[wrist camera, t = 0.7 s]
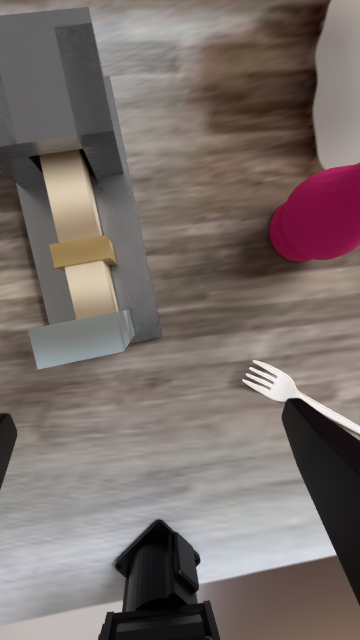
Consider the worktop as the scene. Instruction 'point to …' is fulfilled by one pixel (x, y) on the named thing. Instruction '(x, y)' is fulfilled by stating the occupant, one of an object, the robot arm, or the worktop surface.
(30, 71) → the grey long blocky piece
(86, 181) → the shaft
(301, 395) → the fork
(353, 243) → the pepper mill
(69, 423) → the worktop surface
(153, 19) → the worktop surface
